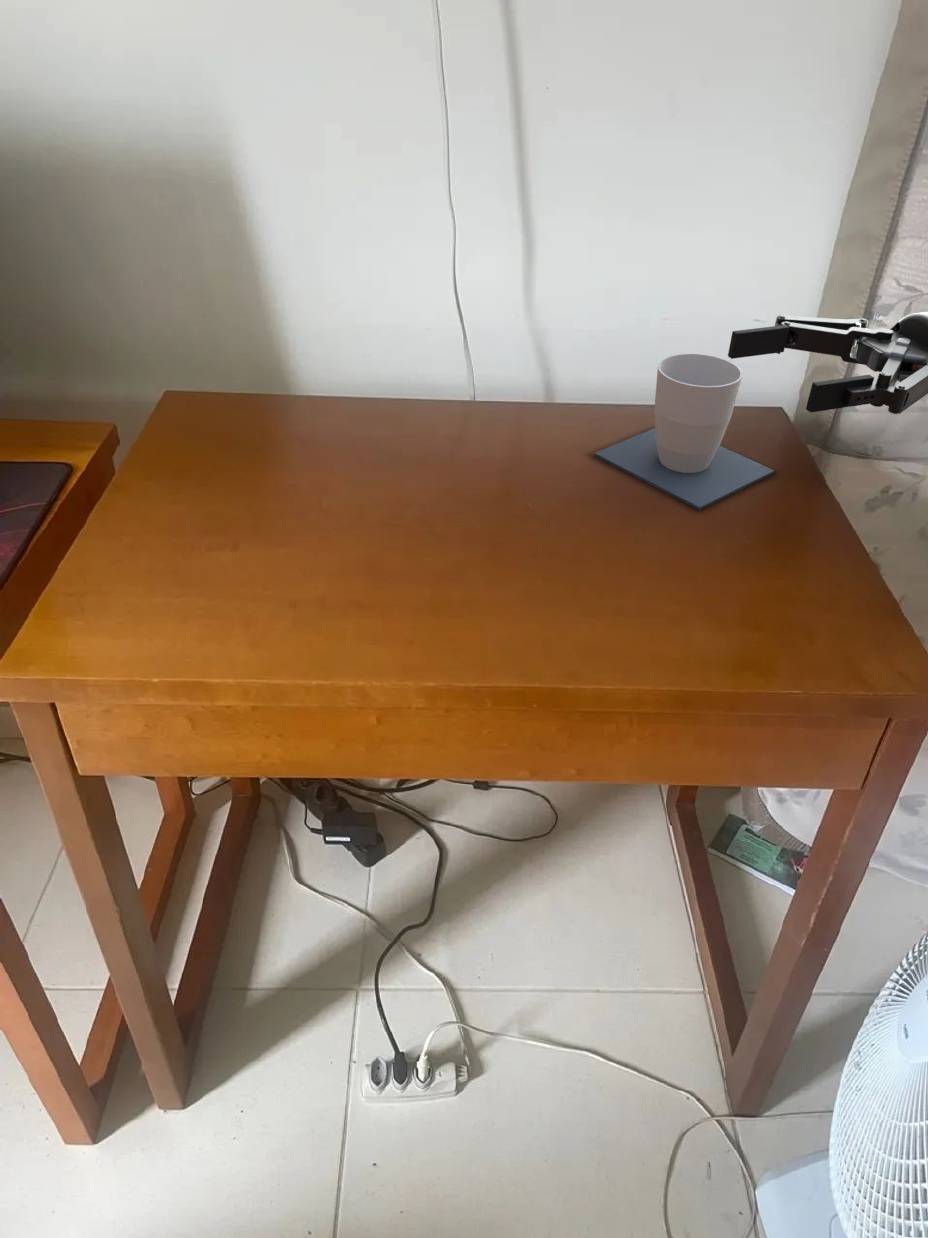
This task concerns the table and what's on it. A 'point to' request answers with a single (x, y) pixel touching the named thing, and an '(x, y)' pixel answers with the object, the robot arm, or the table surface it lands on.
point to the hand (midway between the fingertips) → (769, 369)
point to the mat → (690, 488)
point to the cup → (693, 408)
